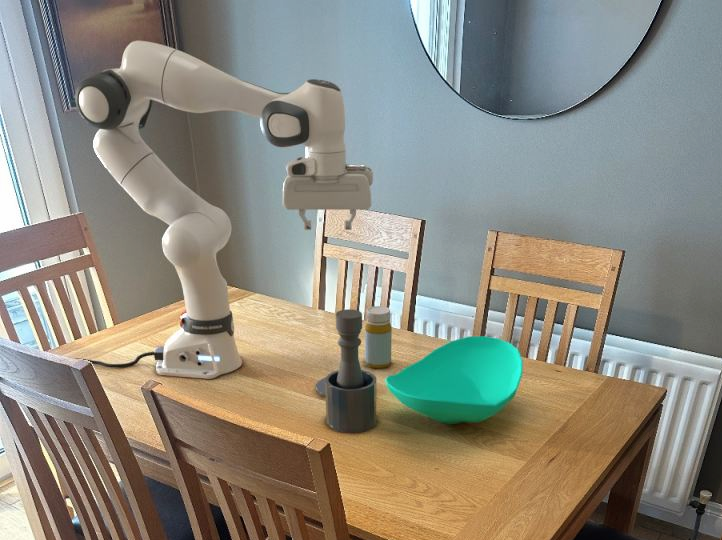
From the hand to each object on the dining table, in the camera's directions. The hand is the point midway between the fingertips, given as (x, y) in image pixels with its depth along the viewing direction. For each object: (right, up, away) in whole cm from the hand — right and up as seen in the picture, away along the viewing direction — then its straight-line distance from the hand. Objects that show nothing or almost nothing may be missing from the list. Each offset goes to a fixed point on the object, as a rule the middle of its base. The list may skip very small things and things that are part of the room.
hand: (328, 229), depth 170 cm
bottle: (+11, -26, +28) cm, 40 cm away
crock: (+5, -45, +1) cm, 45 cm away
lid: (+2, -34, +14) cm, 37 cm away
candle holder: (+5, -44, +1) cm, 44 cm away
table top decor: (+29, -43, +3) cm, 53 cm away
